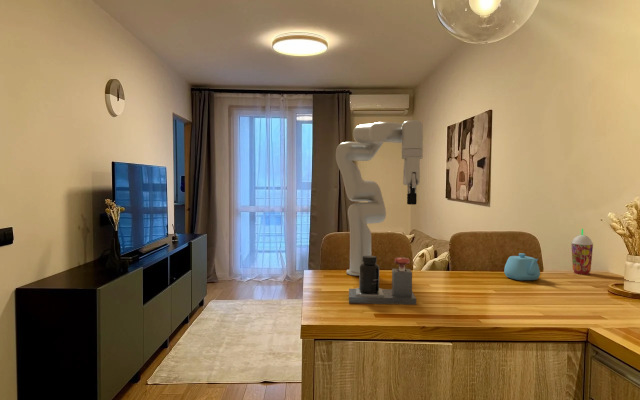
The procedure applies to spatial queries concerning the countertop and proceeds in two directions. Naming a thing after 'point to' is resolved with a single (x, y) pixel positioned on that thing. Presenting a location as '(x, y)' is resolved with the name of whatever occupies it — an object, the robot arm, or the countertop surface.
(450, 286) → the countertop surface
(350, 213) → the robot arm
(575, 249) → the smoothie
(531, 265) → the teapot
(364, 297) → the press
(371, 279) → the supplement bottle
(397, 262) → the plunger
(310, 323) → the countertop surface
